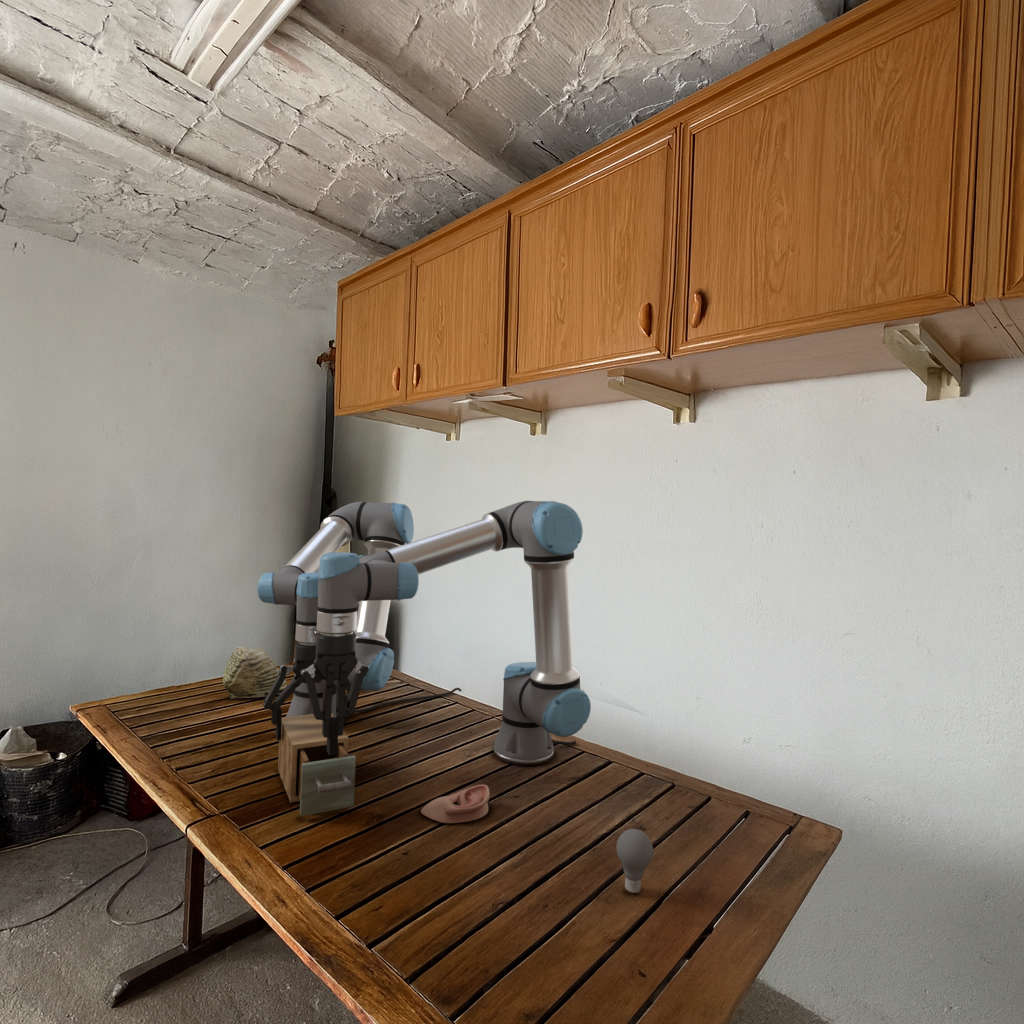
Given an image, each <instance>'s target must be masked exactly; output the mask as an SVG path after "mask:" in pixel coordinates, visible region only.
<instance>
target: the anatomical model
mask: <svg viewBox="0 0 1024 1024" xmlns="http://www.w3.org/2000/svg"><path fill="white" fill-rule="evenodd" d="M490 795H491V792H490V788H489V786H488V785H487V784H477V785H473V786H470V787H468V788H464V789H462V790H460V791H457V792H455V793H452V794H450V795H445V796H440V797H437V798H435V799H433V800H431V801H430V802H428V803H426V804H425V805H424V806H423V807H422V808H421V809H420V813H421V814H422V815H423V816H425V817H426V818H428V819H430V820H433V821H435V822H439V823H441V824H458V823H459V824H460V823H467V822H471V821H476V820H478V819H482V818H483V817H485V816H486V815H487V814H488V813H489V804H488V802H489V800H490V797H491V796H490Z"/></svg>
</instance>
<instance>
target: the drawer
mask: <svg viewBox="0 0 1024 1024" xmlns="http://www.w3.org/2000/svg"><path fill="white" fill-rule="evenodd" d="M356 758H357V757H356V756H355V755H354V754H353V755H349V753H348V754H347V753H346V751H345V750H344V748H343V747H342V745H341V744H340V743H338V751H337V755H331V756H329V754H328V752H327V745H323V746H316V747H309V748H302V749H297V771H296V790H297V793H298V795H299V798H300V801H299V815H300V817H306V816H309V815H316V814H321V813H325V812H326V813H327V812H333V811H337V810H342V809H346V808H353V807H354V806H355V787H356V786H355V785H356V784H355V783H356Z"/></svg>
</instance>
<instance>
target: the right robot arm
mask: <svg viewBox="0 0 1024 1024" xmlns="http://www.w3.org/2000/svg"><path fill="white" fill-rule="evenodd" d="M583 533H584V531H583V523H582V520H581V517H580V516H579V515H578V513H577V511H575V510H574V508H572V507H571V506H570V505H568V504H566V503H562V502H558V501H555V500H524V501H519V502H515V503H512V504H510V505H507V506H504V507H501V508H499V509H496V510H493V511H490V512H487V513H485V514H483V515H482V517H481V519H479V520H476V521H472V522H470V523H467V524H464V525H461V526H458V527H454V528H452V529H448V530H445V531H442V532H439V533H436V534H433V535H432V534H431V535H430V536H426V537H424V538H420V539H416V540H414V541H411V542H410V543H408V544H406V543H405V545H402V546H398V547H395V548H392V549H389V550H387V551H383V552H380V553H377V554H374V555H368V554H361V555H359V554H357V553H354V552H342V551H341V552H339V551H337V552H333V553H326V554H324V555H323V556H322V557H321V558H320V566H319V575H318V578H319V579H318V610H317V631H318V632H319V633H318V634H317V635H316V655H315V658H314V660H313V664H312V665H311V666H309V667H308V668H307V669H302V670H301V675H302V676H303V677H304V679H305V680H306V684H307V689H308V694H309V698H310V703H311V707H312V712H313V715H314V717H315V718H316V719H317V720H322V734H323V736H324V738H327V752H328V754H329V756H331V755H337V751H338V736H341V735H343V730H344V726H345V725H344V724H345V720H346V719H347V717H352V716H354V714H355V712H354V710H356V707H357V702H358V700H359V695H360V691H361V690H360V689H361V685H362V681H363V678H364V677H365V675H366V674H367V672H368V670H369V668H368V667H367V666H366V665H365V664H361V663H360V662H358V659H357V657H356V634H355V633H354V631H355V630H356V629H357V613H358V606H359V602H360V601H371V600H391V601H401V600H411V599H413V598H414V597H416V595H417V592H418V589H419V578H420V577H419V575H421V574H424V573H426V572H430V571H432V570H435V569H438V568H442V567H444V566H447V565H450V564H453V563H456V562H458V561H461V560H465V559H467V558H470V557H473V556H476V555H479V554H482V553H485V552H487V551H491V550H492V551H493V552H496V553H497V552H500V551H503V550H507V549H515V548H516V549H520V548H521V549H523V561H524V563H525V564H526V565H528V567H529V568H530V574H531V575H530V576H531V591H532V592H531V593H532V610H533V611H532V613H533V631H534V632H533V633H534V647H535V649H534V650H535V661H523V662H522V661H521V662H514V663H510V664H507V665H506V667H505V668H504V674H503V678H502V680H503V690H502V691H503V692H502V693H503V695H502V716H501V718H502V719H501V725H500V727H499V729H498V733H497V735H496V738H495V740H494V745H493V755H494V756H495V757H496V758H497V759H498V760H500V761H502V762H504V763H507V764H511V765H517V766H537V765H543V764H546V763H548V762H550V761H551V760H552V759H553V758H554V753H555V750H554V745H563V746H573V745H576V744H577V741H576V740H573V741H563V740H552V736H551V734H552V735H555V736H557V737H560V738H567V737H570V736H574V735H575V734H577V733H579V731H580V730H581V729H583V728H584V727H583V726H584V725H585V724H587V721H588V720H589V718H590V714H591V708H592V706H591V704H592V703H591V700H590V697H589V696H588V694H587V693H586V692H585V690H584V689H581V674H580V671H579V670H577V669H576V668H575V667H574V663H573V662H574V661H573V659H574V658H573V643H572V642H573V641H572V640H573V639H572V621H571V600H570V578H569V565H570V564H571V563H572V562H573V561H574V560H575V550H577V548H578V547H579V545H580V544H581V543H582V542H581V541H582V538H583ZM354 667H355V670H354V671H355V675H354V678H353V681H352V685H351V688H350V692H349V696H348V699H347V703H346V707H345V695H346V692H347V690H346V683H347V677H348V676H349V674H350V673H351V672H352V670H353V669H354ZM315 670H317V672H318V673H319V674H320V676H321V677H322V678H323V707H322V711H321V710H320V706H319V701H318V696H317V692H316V687H315V683H314V680H313V678H314V677H315ZM334 680H336V682H337V689H336V717H331V709H332V687H333V681H334Z"/></svg>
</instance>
